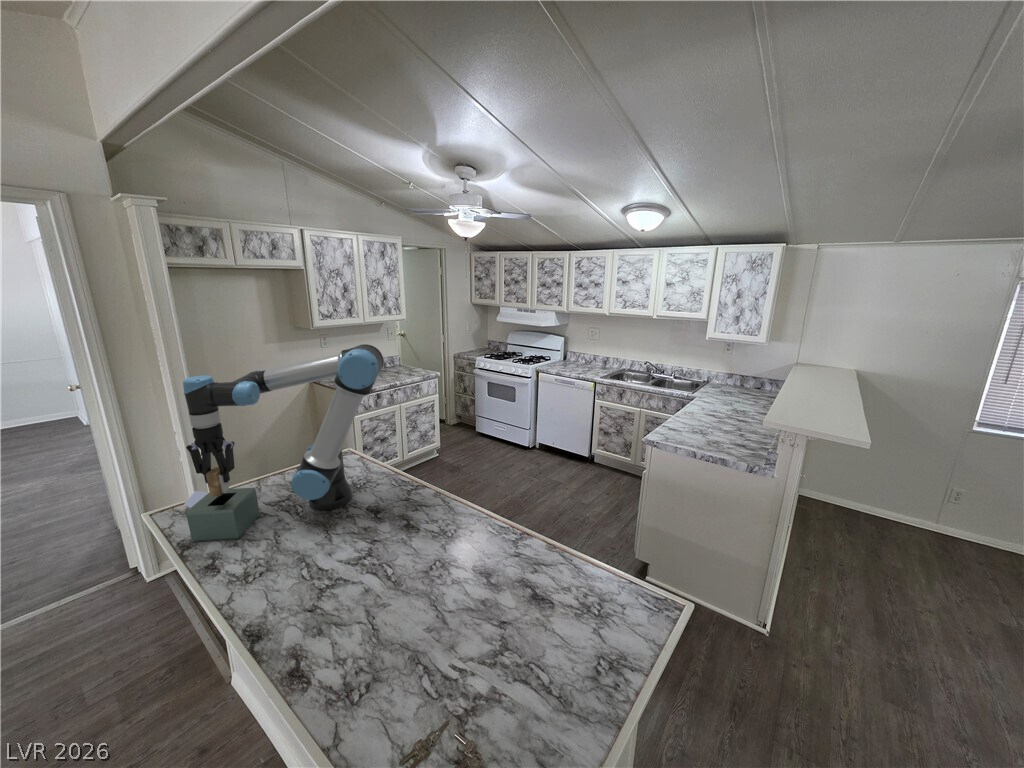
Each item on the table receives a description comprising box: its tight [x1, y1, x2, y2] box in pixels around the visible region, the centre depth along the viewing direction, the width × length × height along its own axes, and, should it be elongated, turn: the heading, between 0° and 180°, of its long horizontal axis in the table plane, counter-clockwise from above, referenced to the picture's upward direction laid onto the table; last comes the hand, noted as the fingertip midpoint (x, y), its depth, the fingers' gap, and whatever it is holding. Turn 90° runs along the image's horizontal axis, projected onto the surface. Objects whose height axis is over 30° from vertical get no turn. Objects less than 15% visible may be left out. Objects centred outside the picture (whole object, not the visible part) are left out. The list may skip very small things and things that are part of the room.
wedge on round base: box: [183, 490, 209, 509], centre depth 146 cm, size 9×7×13 cm
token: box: [206, 466, 223, 497], centre depth 132 cm, size 3×5×8 cm, turn 7°
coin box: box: [185, 487, 261, 543], centre depth 135 cm, size 14×14×11 cm
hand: (219, 491), depth 133 cm, fingers closed on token, 3 cm apart
